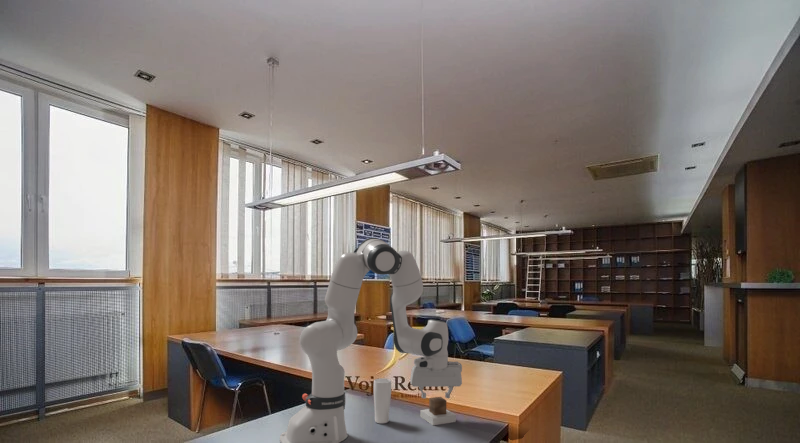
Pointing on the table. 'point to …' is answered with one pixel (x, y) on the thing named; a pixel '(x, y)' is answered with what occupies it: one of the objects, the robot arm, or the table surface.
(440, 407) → the walnut cube
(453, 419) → the grey tile
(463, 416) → the table surface
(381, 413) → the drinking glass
